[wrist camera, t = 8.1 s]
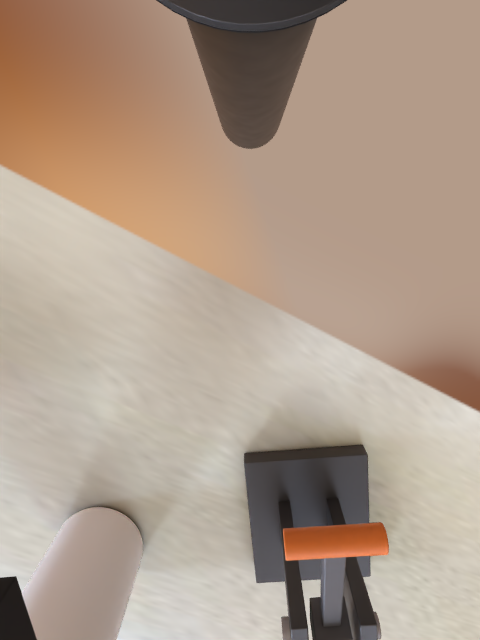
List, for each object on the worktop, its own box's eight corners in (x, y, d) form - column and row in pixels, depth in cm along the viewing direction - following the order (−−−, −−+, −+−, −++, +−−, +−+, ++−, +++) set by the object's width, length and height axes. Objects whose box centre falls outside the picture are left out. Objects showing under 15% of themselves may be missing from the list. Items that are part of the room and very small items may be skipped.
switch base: (244, 453, 36) (241, 577, 24) (363, 444, 36) (422, 567, 24) (256, 569, 39) (259, 734, 27) (366, 563, 39) (420, 727, 27)
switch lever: (281, 514, 22) (286, 561, 20) (379, 507, 22) (393, 554, 20) (288, 618, 29) (292, 661, 27) (363, 614, 29) (373, 657, 27)
